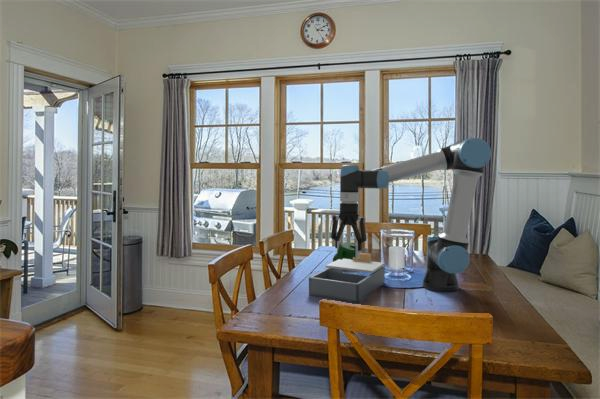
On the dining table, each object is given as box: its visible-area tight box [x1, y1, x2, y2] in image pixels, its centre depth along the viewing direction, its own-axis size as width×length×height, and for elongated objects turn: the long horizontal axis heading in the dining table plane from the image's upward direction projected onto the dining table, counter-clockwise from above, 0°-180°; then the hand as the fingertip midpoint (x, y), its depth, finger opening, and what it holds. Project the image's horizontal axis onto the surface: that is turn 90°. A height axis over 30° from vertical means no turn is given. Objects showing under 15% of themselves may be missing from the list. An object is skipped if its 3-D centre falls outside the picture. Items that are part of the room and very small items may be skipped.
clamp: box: [336, 241, 356, 260], centre depth 163 cm, size 12×6×9 cm, turn 151°
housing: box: [308, 266, 386, 304], centre depth 173 cm, size 22×33×8 cm, turn 150°
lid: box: [325, 252, 385, 274], centre depth 179 cm, size 22×17×4 cm
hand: (348, 257), depth 163 cm, fingers closed on clamp, 7 cm apart
